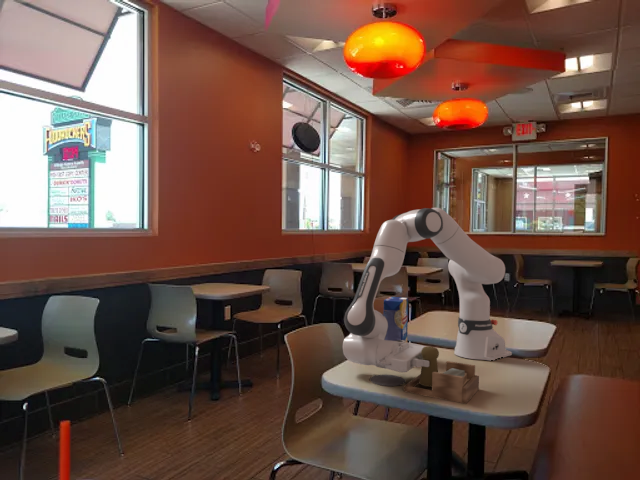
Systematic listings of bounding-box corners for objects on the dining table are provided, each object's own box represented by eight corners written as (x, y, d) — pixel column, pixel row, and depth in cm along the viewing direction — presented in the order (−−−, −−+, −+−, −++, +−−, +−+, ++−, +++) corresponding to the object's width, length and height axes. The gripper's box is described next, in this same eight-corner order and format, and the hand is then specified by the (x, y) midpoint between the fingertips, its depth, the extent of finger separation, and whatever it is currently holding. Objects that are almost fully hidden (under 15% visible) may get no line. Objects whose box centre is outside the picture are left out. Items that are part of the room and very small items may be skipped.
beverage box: (407, 355, 185) (408, 297, 185) (401, 362, 175) (402, 301, 174) (389, 353, 188) (390, 296, 187) (382, 360, 177) (383, 300, 177)
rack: (403, 391, 144) (403, 367, 143) (420, 378, 156) (421, 356, 156) (465, 403, 134) (466, 378, 134) (478, 389, 147) (479, 366, 147)
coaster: (391, 373, 161) (391, 372, 161) (412, 383, 151) (412, 382, 151) (363, 378, 156) (363, 377, 156) (384, 388, 146) (384, 387, 146)
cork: (436, 379, 151) (437, 344, 150) (442, 386, 145) (442, 349, 144) (417, 379, 151) (417, 344, 150) (421, 386, 145) (422, 349, 144)
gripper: (376, 352, 145) (421, 359, 138) (402, 338, 163) (442, 344, 155) (376, 373, 145) (420, 381, 138) (401, 357, 163) (442, 363, 156)
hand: (432, 361), depth 147 cm, fingers closed on cork, 4 cm apart
